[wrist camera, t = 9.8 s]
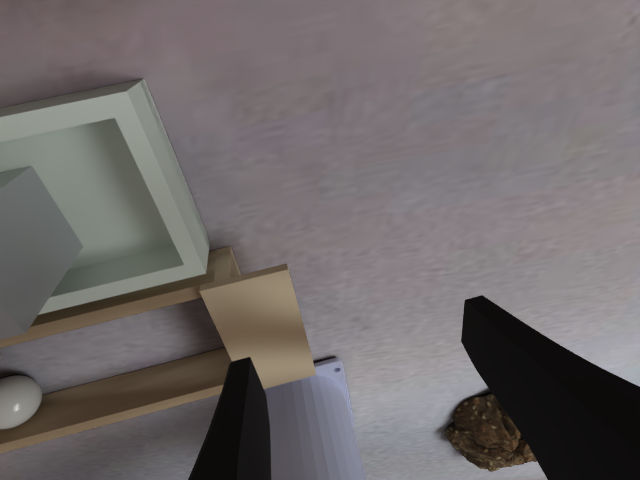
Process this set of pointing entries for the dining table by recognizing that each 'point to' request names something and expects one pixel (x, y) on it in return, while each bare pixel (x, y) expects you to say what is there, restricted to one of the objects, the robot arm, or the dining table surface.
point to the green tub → (109, 189)
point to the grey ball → (18, 400)
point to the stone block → (30, 249)
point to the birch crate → (184, 374)
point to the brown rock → (487, 435)
